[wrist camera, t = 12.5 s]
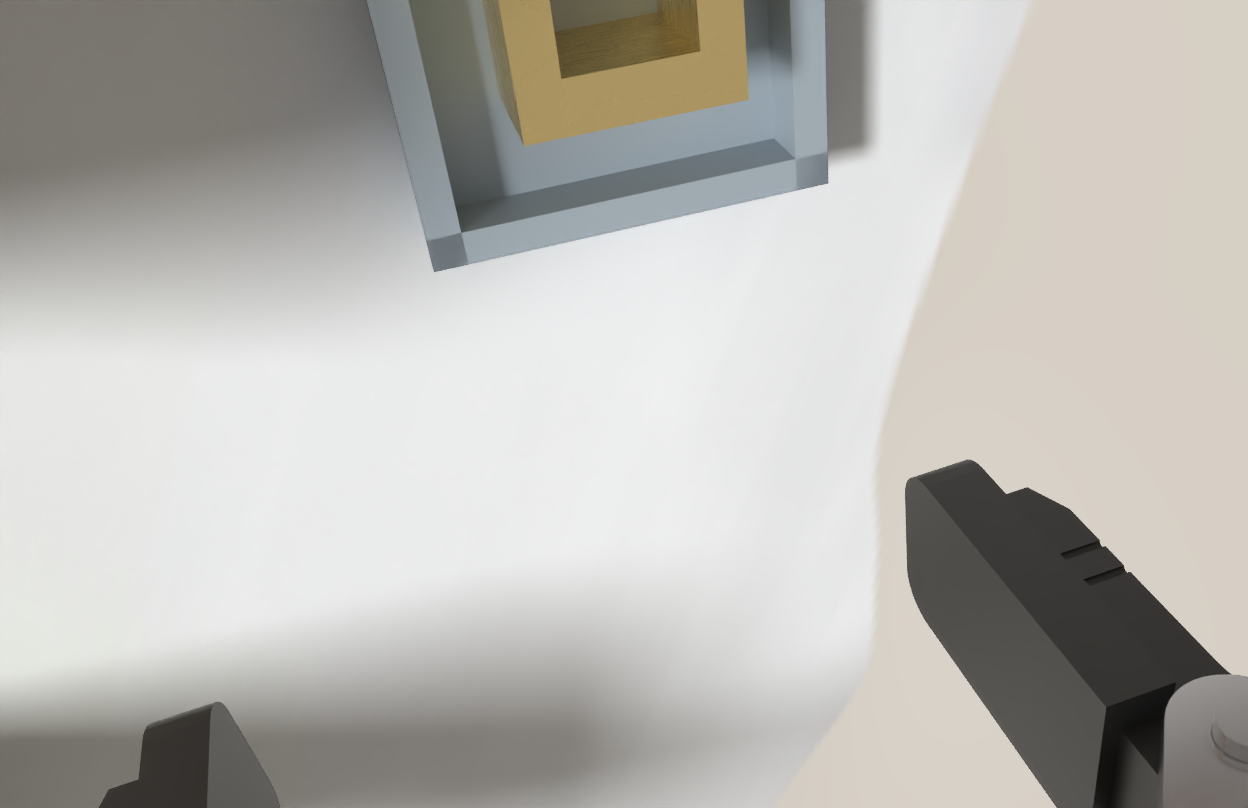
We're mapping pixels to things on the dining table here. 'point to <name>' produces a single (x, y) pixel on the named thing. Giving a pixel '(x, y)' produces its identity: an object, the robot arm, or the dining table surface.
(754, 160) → the tray
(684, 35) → the gold rectangular hollow block
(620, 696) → the dining table surface
